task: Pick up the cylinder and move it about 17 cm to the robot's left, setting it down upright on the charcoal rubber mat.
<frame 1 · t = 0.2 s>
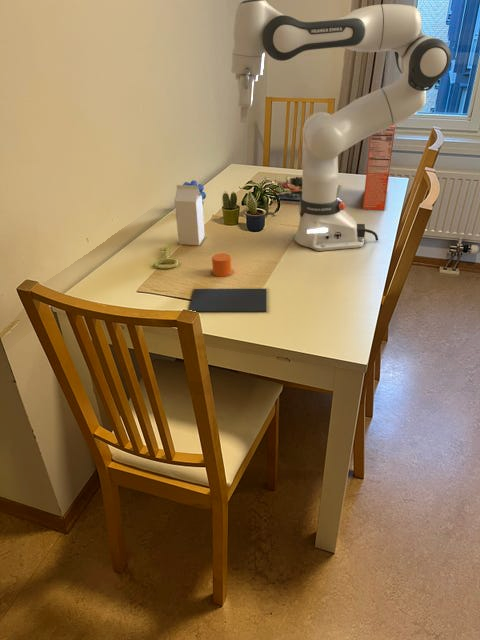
hand: (243, 118, 148), 39 cm above the table, tool pointing down, fingers open, 8 cm apart
red cereal box: (374, 200, 200), on the table
milk carton: (191, 241, 169), on the table
mat: (228, 300, 134), on the table
key: (166, 261, 156), on the table
cylinder: (222, 272, 148), on the table
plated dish: (293, 193, 211), on the table
grapes: (194, 210, 196), on the table
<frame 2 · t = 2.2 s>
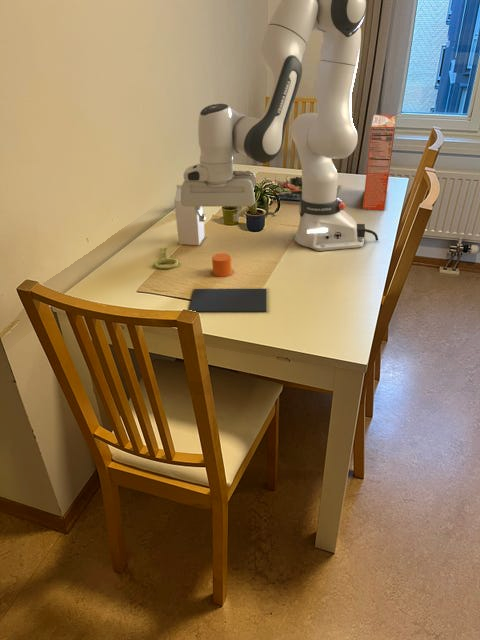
hand: (219, 221, 140), 16 cm above the table, tool pointing down, fingers open, 8 cm apart
nothing on the table moved.
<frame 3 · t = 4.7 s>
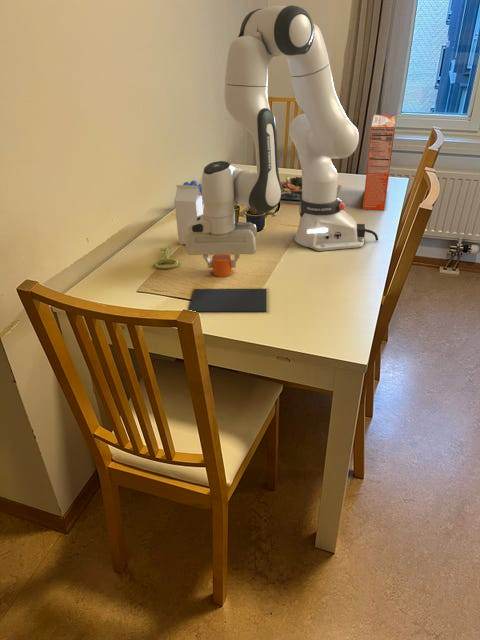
hand: (221, 267, 147), 2 cm above the table, tool pointing down, fingers closed on cylinder, 5 cm apart
cylinder: (222, 272, 148), on the table, touching gripper
everything else where it was.
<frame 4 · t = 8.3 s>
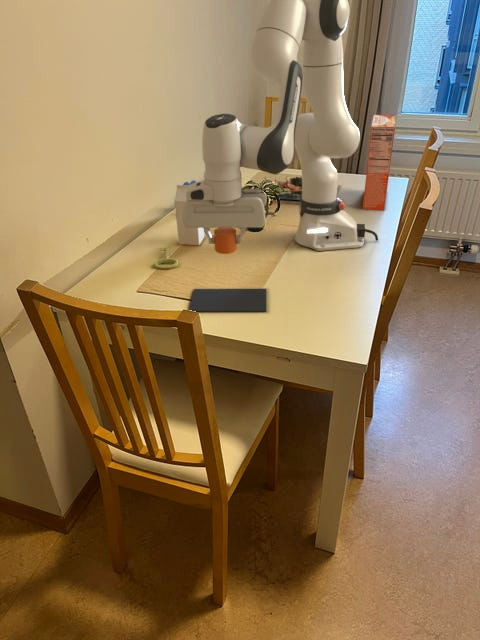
hand: (225, 243, 126), 16 cm above the table, tool pointing down, fingers closed on cylinder, 5 cm apart
cylinder: (225, 249, 127), point 14 cm above the table, touching gripper
everything else where it was.
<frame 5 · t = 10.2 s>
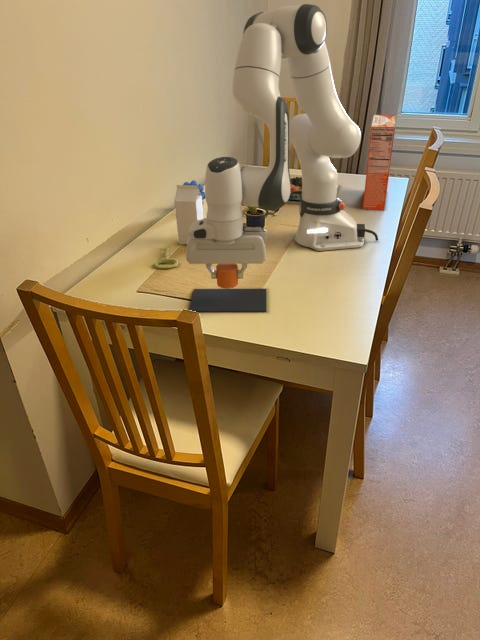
hand: (227, 277, 130), 7 cm above the table, tool pointing down, fingers closed on cylinder, 5 cm apart
cylinder: (227, 283, 131), point 5 cm above the table, touching gripper
everything else where it was.
when the fingers open (2 cm above the table, at t = 11.9 s): cylinder stays where it is, resting on mat.
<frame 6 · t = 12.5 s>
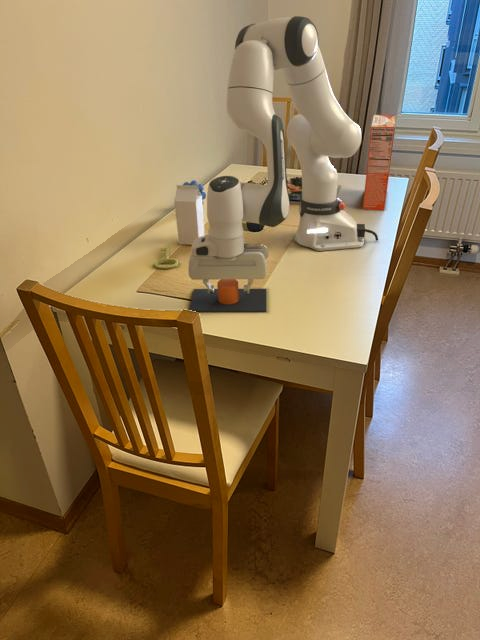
hand: (228, 292, 132), 2 cm above the table, tool pointing down, fingers open, 8 cm apart
cylinder: (228, 299, 133), resting on mat
everything else where it was.
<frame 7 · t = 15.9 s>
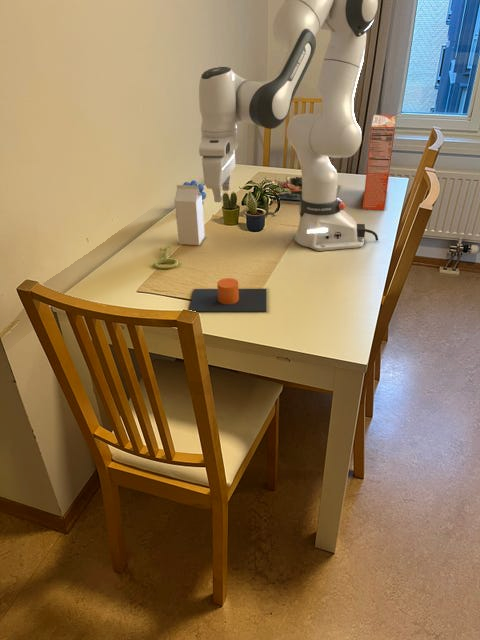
hand: (222, 195, 131), 25 cm above the table, tool pointing down, fingers open, 8 cm apart
nothing on the table moved.
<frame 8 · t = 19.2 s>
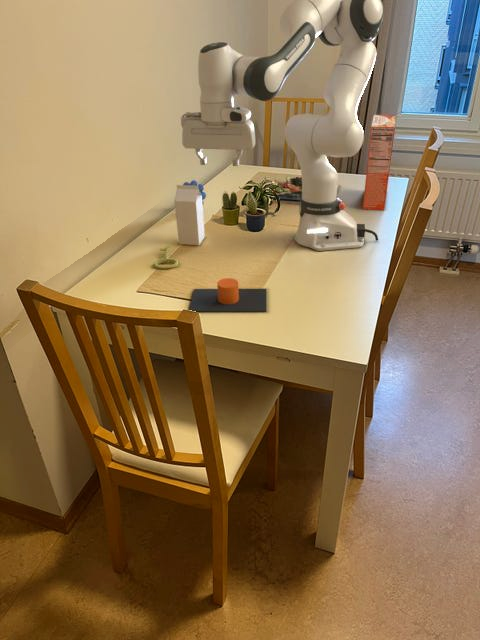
hand: (219, 165, 140), 29 cm above the table, tool pointing down, fingers open, 8 cm apart
nothing on the table moved.
at the end: cylinder inside the target area (0.1 cm from its centre), resting on mat; cylinder tilted 0°; the gripper is holding nothing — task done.
